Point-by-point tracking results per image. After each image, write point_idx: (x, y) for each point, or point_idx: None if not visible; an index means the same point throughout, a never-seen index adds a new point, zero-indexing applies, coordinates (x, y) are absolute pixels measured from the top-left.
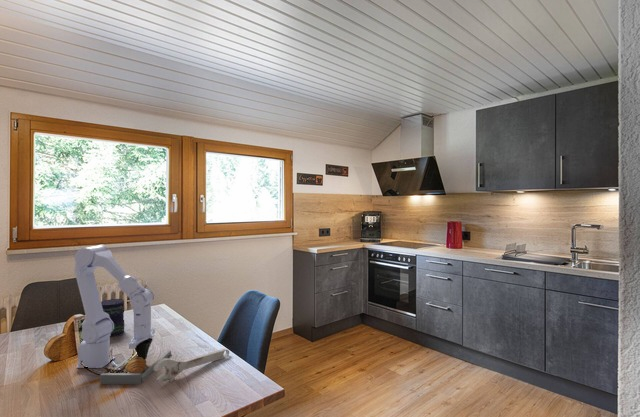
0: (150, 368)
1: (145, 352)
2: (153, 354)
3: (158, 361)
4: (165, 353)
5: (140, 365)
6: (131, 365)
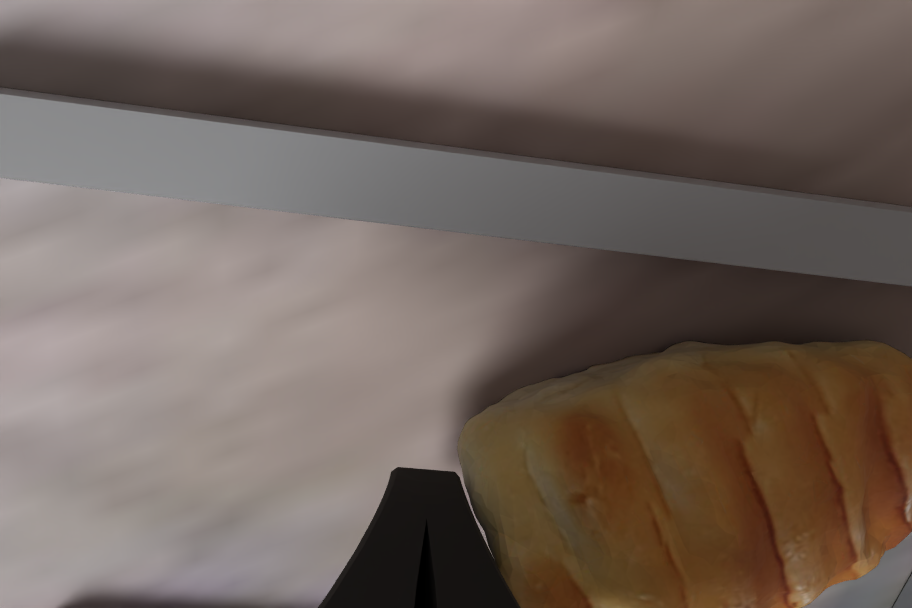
0: (850, 235)
1: (503, 599)
2: (33, 428)
3: (528, 180)
4: (79, 159)
5: (851, 454)
6: (809, 599)
